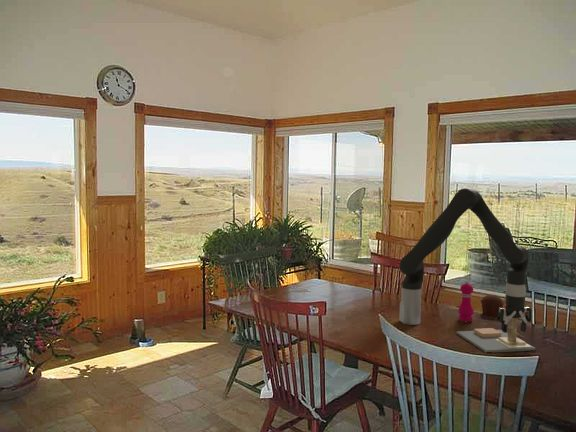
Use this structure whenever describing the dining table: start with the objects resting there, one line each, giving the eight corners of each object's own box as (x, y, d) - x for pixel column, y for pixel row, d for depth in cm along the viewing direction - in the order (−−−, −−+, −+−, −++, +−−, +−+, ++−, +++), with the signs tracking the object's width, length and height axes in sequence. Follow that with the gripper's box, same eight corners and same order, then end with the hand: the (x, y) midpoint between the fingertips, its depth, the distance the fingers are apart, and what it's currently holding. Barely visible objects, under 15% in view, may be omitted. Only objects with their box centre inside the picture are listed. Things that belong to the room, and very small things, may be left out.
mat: (486, 352, 193) (486, 350, 192) (456, 333, 216) (456, 331, 216) (535, 350, 196) (535, 347, 196) (501, 331, 219) (501, 329, 219)
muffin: (484, 310, 256) (484, 291, 255) (506, 313, 249) (506, 295, 248) (477, 314, 247) (477, 295, 246) (499, 318, 240) (500, 299, 239)
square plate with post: (508, 345, 198) (509, 319, 197) (498, 339, 204) (499, 314, 204) (525, 344, 199) (526, 318, 198) (515, 338, 206) (516, 314, 205)
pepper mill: (459, 317, 242) (460, 278, 241) (474, 319, 238) (476, 280, 237) (456, 320, 236) (458, 281, 234) (471, 323, 232) (473, 282, 231)
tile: (501, 336, 209) (482, 337, 208) (492, 331, 216) (473, 332, 215) (501, 333, 209) (482, 333, 208) (492, 328, 216) (473, 328, 215)
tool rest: (509, 348, 195) (509, 347, 195) (495, 340, 205) (495, 339, 205) (531, 347, 197) (531, 346, 197) (516, 339, 206) (516, 338, 206)
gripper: (505, 296, 194) (503, 335, 196) (536, 295, 196) (534, 334, 198) (494, 292, 202) (493, 329, 203) (525, 291, 204) (523, 328, 205)
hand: (513, 331), depth 200 cm, fingers open, 8 cm apart
